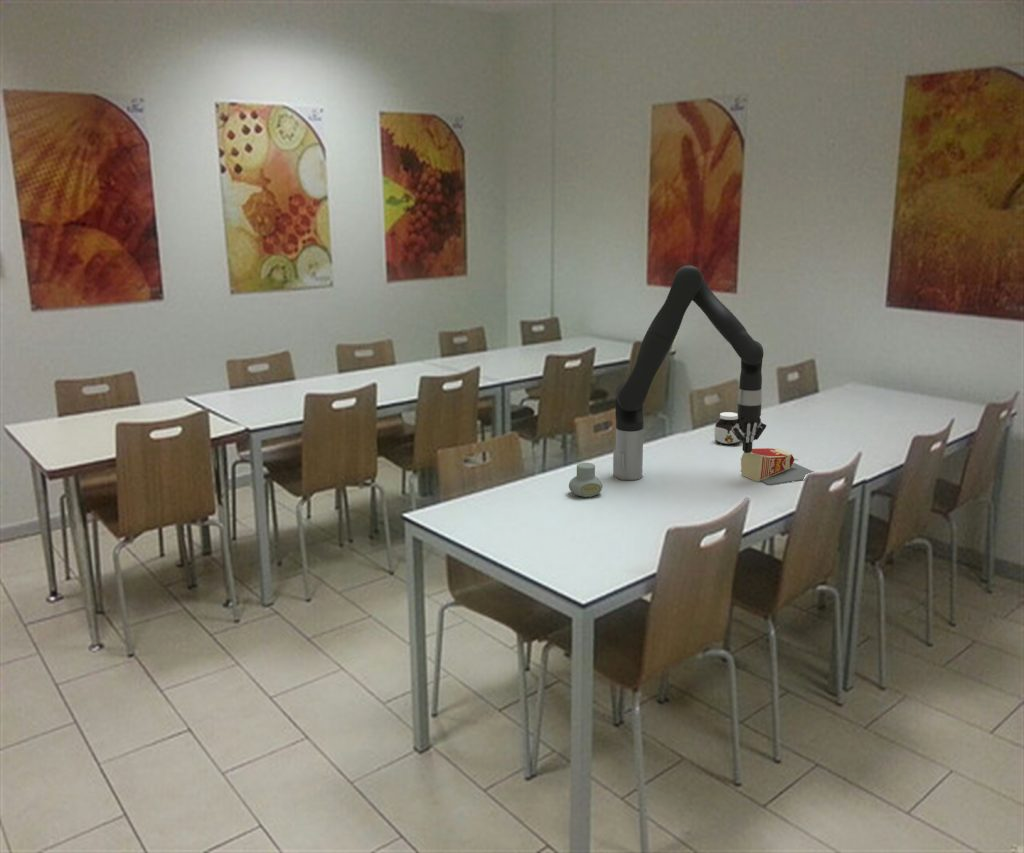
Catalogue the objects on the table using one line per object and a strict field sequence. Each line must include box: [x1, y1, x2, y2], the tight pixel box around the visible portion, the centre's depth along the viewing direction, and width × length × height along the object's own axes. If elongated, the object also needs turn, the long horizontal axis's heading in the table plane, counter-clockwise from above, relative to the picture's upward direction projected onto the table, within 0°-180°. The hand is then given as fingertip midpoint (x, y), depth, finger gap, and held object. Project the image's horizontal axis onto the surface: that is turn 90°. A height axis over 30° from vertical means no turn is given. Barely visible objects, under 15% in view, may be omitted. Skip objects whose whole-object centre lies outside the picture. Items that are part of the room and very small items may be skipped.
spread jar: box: [714, 411, 741, 447], centre depth 331 cm, size 12×11×12 cm
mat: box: [759, 462, 815, 486], centre depth 294 cm, size 22×16×1 cm
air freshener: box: [568, 462, 604, 498], centre depth 278 cm, size 11×8×10 cm
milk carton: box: [740, 447, 798, 483], centre depth 295 cm, size 9×9×20 cm
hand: (747, 452), depth 287 cm, fingers closed
